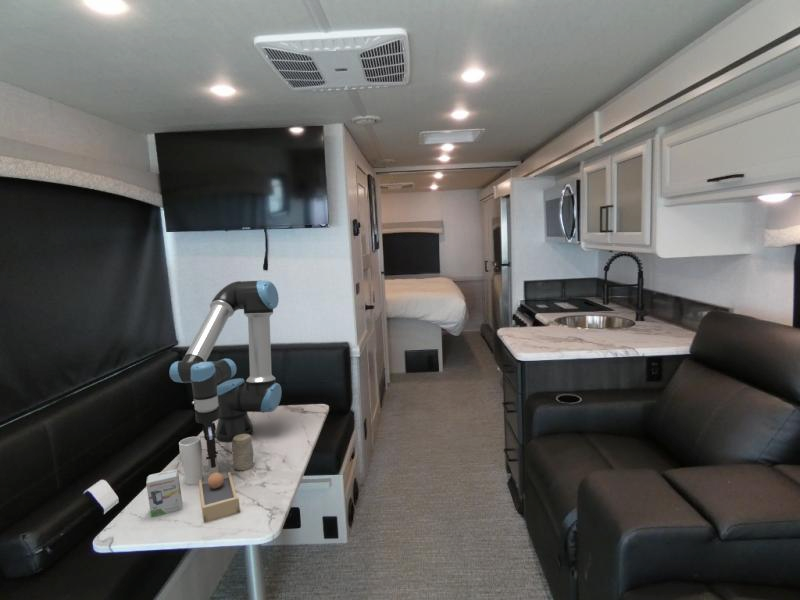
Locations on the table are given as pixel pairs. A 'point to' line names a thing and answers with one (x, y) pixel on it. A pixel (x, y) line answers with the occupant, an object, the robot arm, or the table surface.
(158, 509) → the ink box
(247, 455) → the carving
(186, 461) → the drinking glass
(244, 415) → the robot arm
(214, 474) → the ball
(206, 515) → the lane
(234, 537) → the table surface
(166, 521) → the table surface
